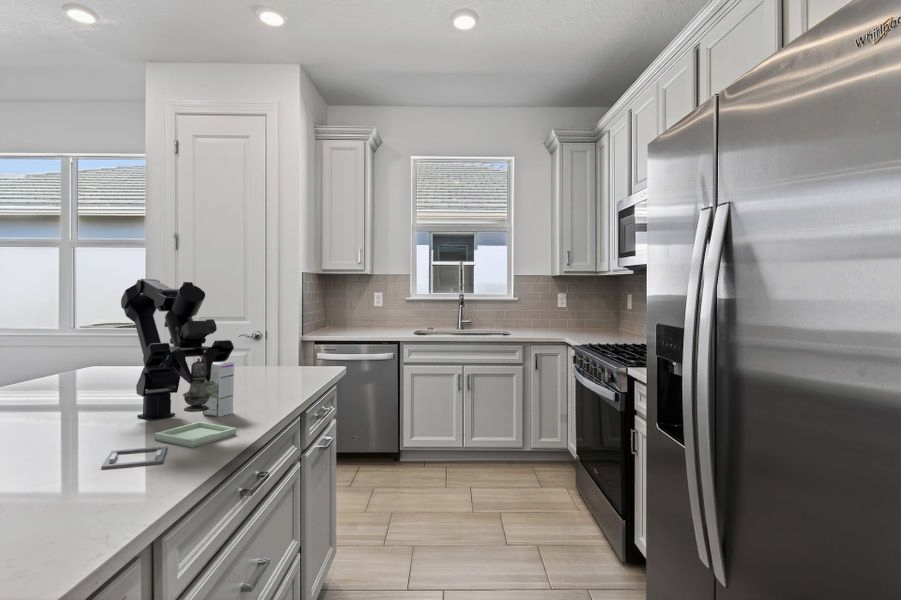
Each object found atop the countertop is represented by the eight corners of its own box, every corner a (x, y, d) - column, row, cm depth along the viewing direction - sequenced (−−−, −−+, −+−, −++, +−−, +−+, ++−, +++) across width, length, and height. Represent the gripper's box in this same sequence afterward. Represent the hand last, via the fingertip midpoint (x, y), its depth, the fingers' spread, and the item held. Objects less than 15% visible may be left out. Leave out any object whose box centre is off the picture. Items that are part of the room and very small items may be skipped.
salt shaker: (206, 412, 114) (209, 359, 114) (178, 412, 113) (180, 359, 112) (213, 406, 120) (215, 356, 119) (186, 406, 118) (188, 355, 118)
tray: (154, 439, 113) (154, 433, 113) (199, 427, 124) (199, 421, 124) (193, 447, 108) (193, 440, 108) (236, 434, 119) (236, 428, 119)
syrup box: (234, 413, 140) (235, 361, 140) (217, 417, 134) (219, 363, 134) (217, 410, 142) (219, 359, 141) (201, 415, 136) (202, 362, 136)
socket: (111, 453, 103) (111, 449, 103) (167, 448, 107) (167, 444, 107) (101, 469, 94) (101, 464, 94) (162, 463, 98) (162, 459, 98)
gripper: (149, 307, 111) (166, 363, 104) (232, 307, 125) (252, 357, 118) (136, 339, 116) (151, 394, 110) (216, 336, 131) (235, 384, 124)
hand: (200, 381), depth 115 cm, fingers closed on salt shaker, 4 cm apart
